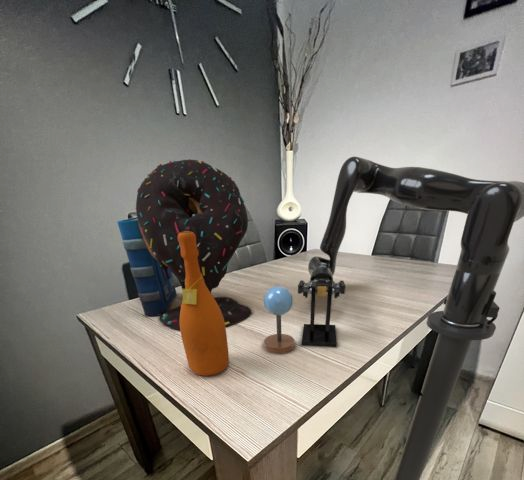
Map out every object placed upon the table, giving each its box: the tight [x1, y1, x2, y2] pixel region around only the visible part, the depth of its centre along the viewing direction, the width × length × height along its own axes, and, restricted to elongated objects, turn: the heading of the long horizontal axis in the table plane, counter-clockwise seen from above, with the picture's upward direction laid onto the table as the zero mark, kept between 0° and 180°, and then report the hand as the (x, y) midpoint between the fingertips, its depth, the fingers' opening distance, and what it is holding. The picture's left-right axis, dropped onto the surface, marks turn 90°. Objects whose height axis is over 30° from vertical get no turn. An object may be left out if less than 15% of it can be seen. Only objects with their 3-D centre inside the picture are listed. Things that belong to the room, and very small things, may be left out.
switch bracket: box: [300, 282, 338, 348], centre depth 72 cm, size 11×9×15 cm
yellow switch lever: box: [316, 286, 328, 297], centre depth 75 cm, size 14×6×2 cm, turn 169°
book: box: [116, 216, 177, 317], centre depth 98 cm, size 24×9×30 cm, turn 5°
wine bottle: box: [178, 231, 230, 377], centre depth 58 cm, size 10×10×30 cm
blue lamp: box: [263, 285, 296, 355], centre depth 68 cm, size 8×8×16 cm
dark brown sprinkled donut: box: [135, 158, 252, 331], centre depth 84 cm, size 30×32×45 cm
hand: (321, 294), depth 79 cm, fingers open, 8 cm apart
